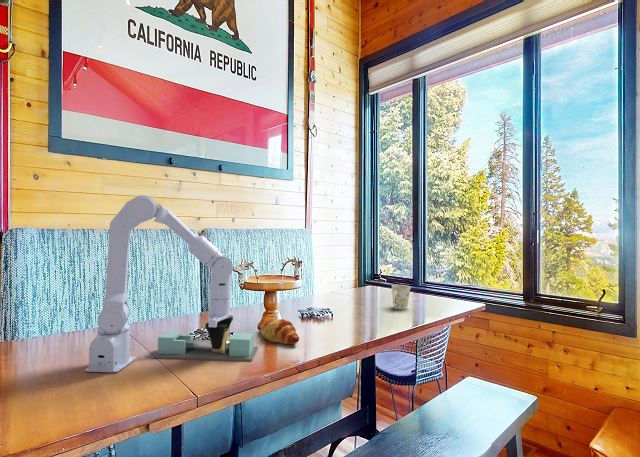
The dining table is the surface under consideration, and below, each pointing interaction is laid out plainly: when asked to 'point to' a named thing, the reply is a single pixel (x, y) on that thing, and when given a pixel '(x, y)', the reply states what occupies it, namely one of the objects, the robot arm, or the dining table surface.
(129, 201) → the robot arm
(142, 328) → the dining table surface
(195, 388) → the dining table surface
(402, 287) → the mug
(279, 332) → the croissant
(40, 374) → the dining table surface
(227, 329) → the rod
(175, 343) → the guide
